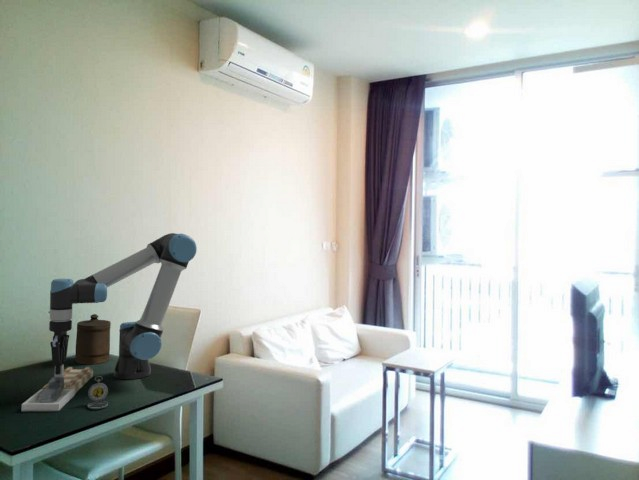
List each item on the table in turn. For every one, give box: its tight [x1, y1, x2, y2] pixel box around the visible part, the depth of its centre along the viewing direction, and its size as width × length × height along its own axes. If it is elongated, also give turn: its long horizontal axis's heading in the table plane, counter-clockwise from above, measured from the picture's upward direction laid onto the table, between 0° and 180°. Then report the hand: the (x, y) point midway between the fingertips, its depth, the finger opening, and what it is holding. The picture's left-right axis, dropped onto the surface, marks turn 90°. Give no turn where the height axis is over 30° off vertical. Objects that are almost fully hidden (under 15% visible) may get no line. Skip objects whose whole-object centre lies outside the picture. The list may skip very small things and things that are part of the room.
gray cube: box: [48, 376, 64, 392], centre depth 182 cm, size 4×4×4 cm
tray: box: [20, 388, 76, 413], centre depth 176 cm, size 16×12×2 cm
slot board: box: [42, 366, 94, 394], centre depth 196 cm, size 24×11×4 cm, turn 9°
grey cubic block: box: [39, 390, 56, 403], centre depth 174 cm, size 4×4×4 cm
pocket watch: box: [87, 375, 109, 410], centre depth 176 cm, size 8×8×10 cm
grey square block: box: [45, 386, 60, 401], centre depth 178 cm, size 4×4×4 cm
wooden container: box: [74, 313, 112, 365], centre depth 233 cm, size 15×15×22 cm
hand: (58, 381), depth 185 cm, fingers closed
